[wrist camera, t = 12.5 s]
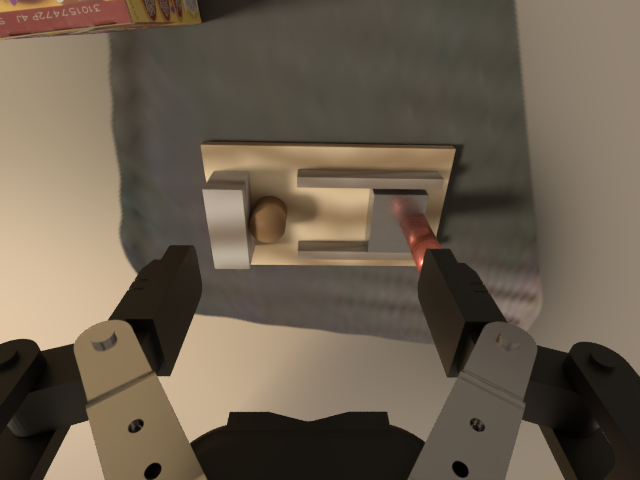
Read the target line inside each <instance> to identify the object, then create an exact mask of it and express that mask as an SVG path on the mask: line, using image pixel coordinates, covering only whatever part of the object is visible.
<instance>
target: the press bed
mask: <svg viewBox="0 0 640 480" xmlns="http://www.w3.org/2000/svg"><path fill="white" fill-rule="evenodd" d="M201 150H202V157H203V163H204V170H205V176H206V184H205V186H204V187H203V189H202V191H203V197H204V203H205V209H206V216H207V222H208V228H209V234H210V240H211V247H212V253H213V259H214V265H215V269H250V266H251V264H256V265H371V266H416V264H415V262H414V259H413V257H412V254H411V253H376V252H368V251H367V247H366V242H365V232H366V223H367V213H368V204H369V194H370V189H425V190H426V192H427V193H428V195H429V198H428V203H427V208H426V213H425V218H426V220H427V221H428V223H429V225H430V227H431V229H432V231H433V233H434V234H435V236H436V235H437V230H438V226H439V221H440V217H441V213H442V208H443V204H444V199H445V195H446V191H447V186H448V182H449V177H450V173H451V168H452V164H453V160H454V155H455V151H456V149H455V148H454V147H453V146H437V145H381V144H325V143H268V142H212V141H203V143H202V144H201ZM265 196H274V197H277V198H279V199H281V200H282V201H283V202H284V203H285V205H286V207H287V218H286V226H285V232H284V235H283V236H282V237H281V238H280V239H279V240H277V241H275V242H272V243H265V242H261V241H259V240H257V239H256V238H254V237H253V235H252V234H251V232H250V229H249V223H250V220H251V216H252V213H253V210H254V206H255V204H256V202H257V201H258V200H259V199H260V198H262V197H265Z"/></svg>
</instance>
